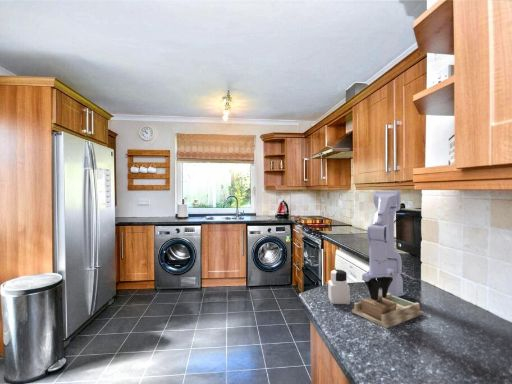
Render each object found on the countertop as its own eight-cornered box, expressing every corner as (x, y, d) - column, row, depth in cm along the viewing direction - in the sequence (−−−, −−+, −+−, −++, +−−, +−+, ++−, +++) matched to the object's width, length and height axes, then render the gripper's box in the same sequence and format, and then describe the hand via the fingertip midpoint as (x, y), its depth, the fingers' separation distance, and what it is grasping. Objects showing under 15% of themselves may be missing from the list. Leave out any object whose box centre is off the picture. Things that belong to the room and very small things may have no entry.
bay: (386, 300, 110) (386, 292, 110) (422, 314, 98) (422, 304, 98) (351, 312, 100) (351, 302, 100) (387, 328, 88) (386, 317, 88)
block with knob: (376, 306, 103) (375, 282, 103) (396, 314, 96) (396, 289, 96) (361, 310, 99) (361, 286, 99) (381, 319, 92) (381, 293, 92)
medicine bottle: (345, 297, 114) (345, 268, 114) (350, 304, 107) (349, 273, 107) (328, 297, 115) (328, 268, 115) (331, 304, 108) (331, 273, 108)
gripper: (374, 264, 90) (375, 306, 90) (401, 259, 97) (401, 297, 97) (356, 260, 96) (357, 299, 96) (383, 255, 103) (383, 291, 103)
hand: (378, 298), depth 97 cm, fingers open, 4 cm apart
